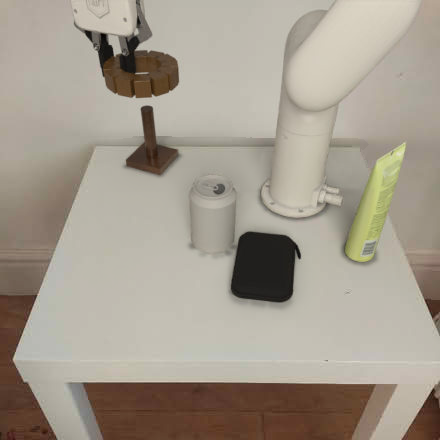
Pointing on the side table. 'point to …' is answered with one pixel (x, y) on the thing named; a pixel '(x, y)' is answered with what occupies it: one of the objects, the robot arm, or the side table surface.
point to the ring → (142, 75)
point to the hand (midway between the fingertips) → (119, 75)
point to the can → (212, 213)
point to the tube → (374, 206)
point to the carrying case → (264, 267)
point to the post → (151, 148)
